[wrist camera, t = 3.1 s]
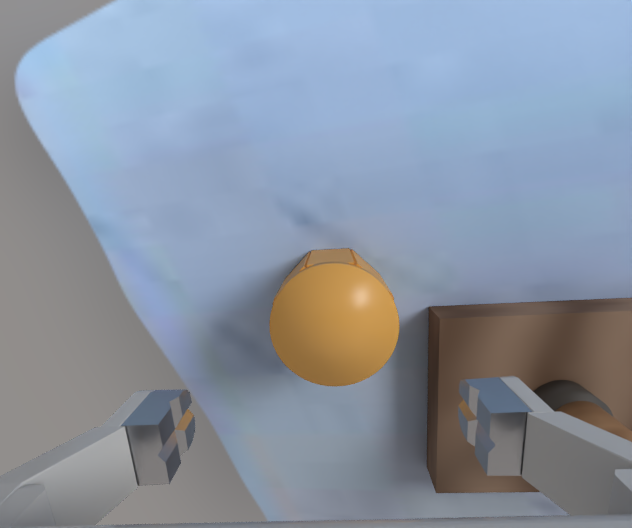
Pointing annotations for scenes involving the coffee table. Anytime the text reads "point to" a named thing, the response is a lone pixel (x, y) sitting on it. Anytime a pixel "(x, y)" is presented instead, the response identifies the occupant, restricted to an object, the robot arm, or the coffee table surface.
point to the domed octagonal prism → (334, 319)
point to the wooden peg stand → (525, 373)
